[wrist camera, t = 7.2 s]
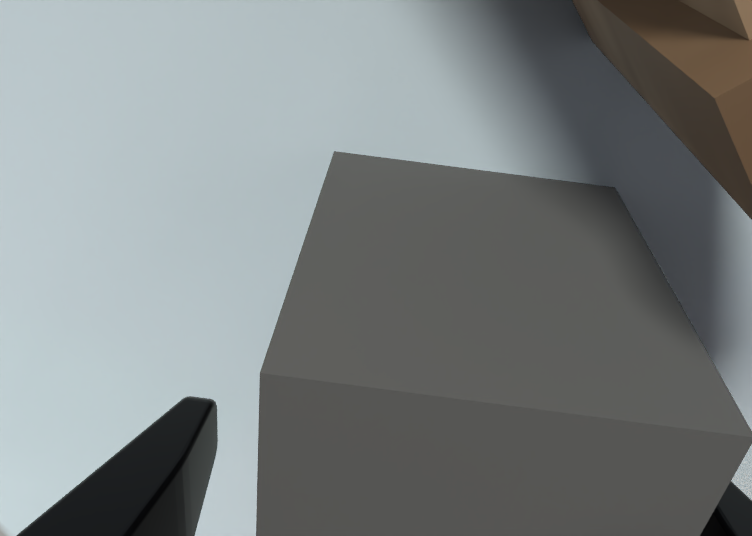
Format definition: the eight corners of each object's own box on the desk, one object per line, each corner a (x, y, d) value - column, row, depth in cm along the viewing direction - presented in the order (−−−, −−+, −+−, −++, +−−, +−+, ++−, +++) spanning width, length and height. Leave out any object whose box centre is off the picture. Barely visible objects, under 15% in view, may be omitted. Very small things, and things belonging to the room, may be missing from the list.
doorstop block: (334, 149, 11) (259, 372, 6) (613, 185, 11) (754, 437, 6) (312, 422, 14) (251, 708, 9) (529, 450, 14) (578, 751, 9)
